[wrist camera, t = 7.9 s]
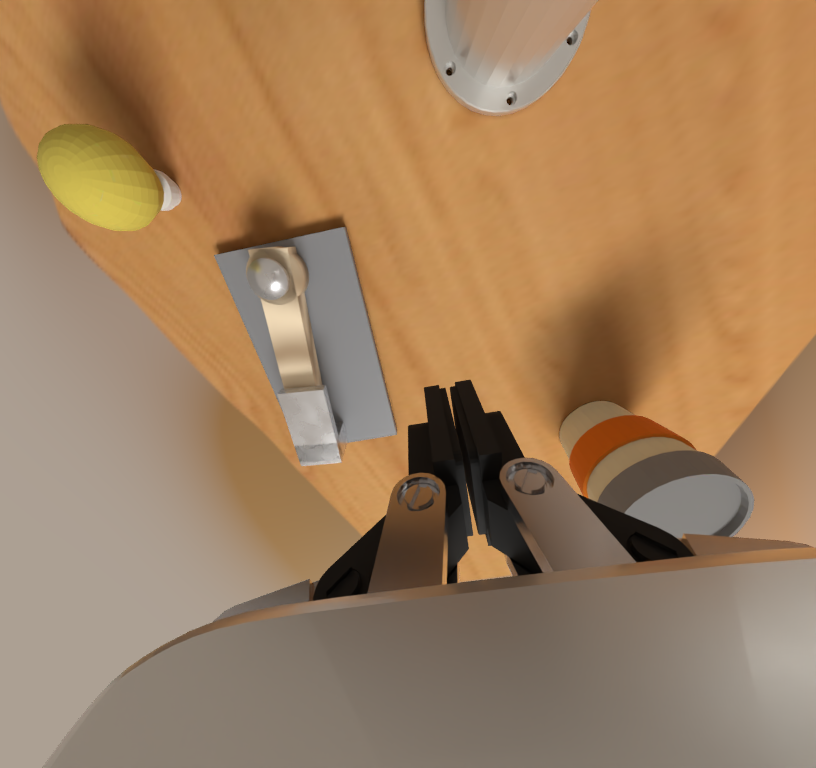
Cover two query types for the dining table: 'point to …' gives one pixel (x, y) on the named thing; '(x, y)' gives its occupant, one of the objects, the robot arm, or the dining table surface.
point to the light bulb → (103, 178)
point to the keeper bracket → (313, 425)
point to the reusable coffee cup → (652, 473)
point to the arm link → (290, 321)
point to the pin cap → (268, 278)
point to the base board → (324, 330)
